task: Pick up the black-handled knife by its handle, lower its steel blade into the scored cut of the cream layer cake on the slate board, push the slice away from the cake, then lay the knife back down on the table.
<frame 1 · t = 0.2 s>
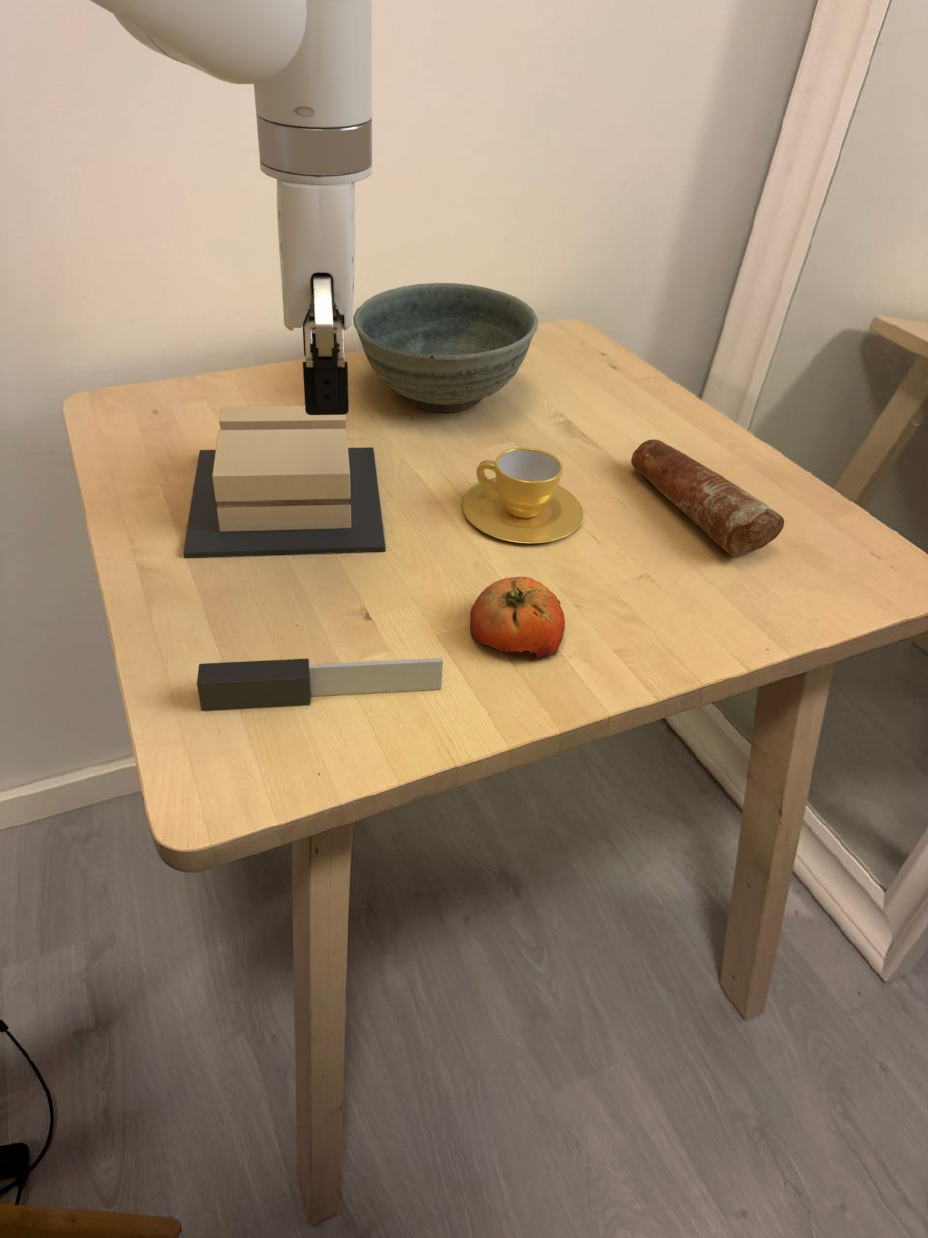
hand: (325, 383, 71), 17 cm above the table, tool pointing down, fingers open, 9 cm apart
cup: (521, 512, 90), on the table
bowl: (442, 396, 108), on the table
tomato: (515, 634, 76), on the table
cake: (287, 500, 89), on the table
slice: (285, 440, 90), point 4 cm above the table, slide at 0.0 cm
salami: (687, 514, 92), on the table
knife: (257, 697, 68), on the table
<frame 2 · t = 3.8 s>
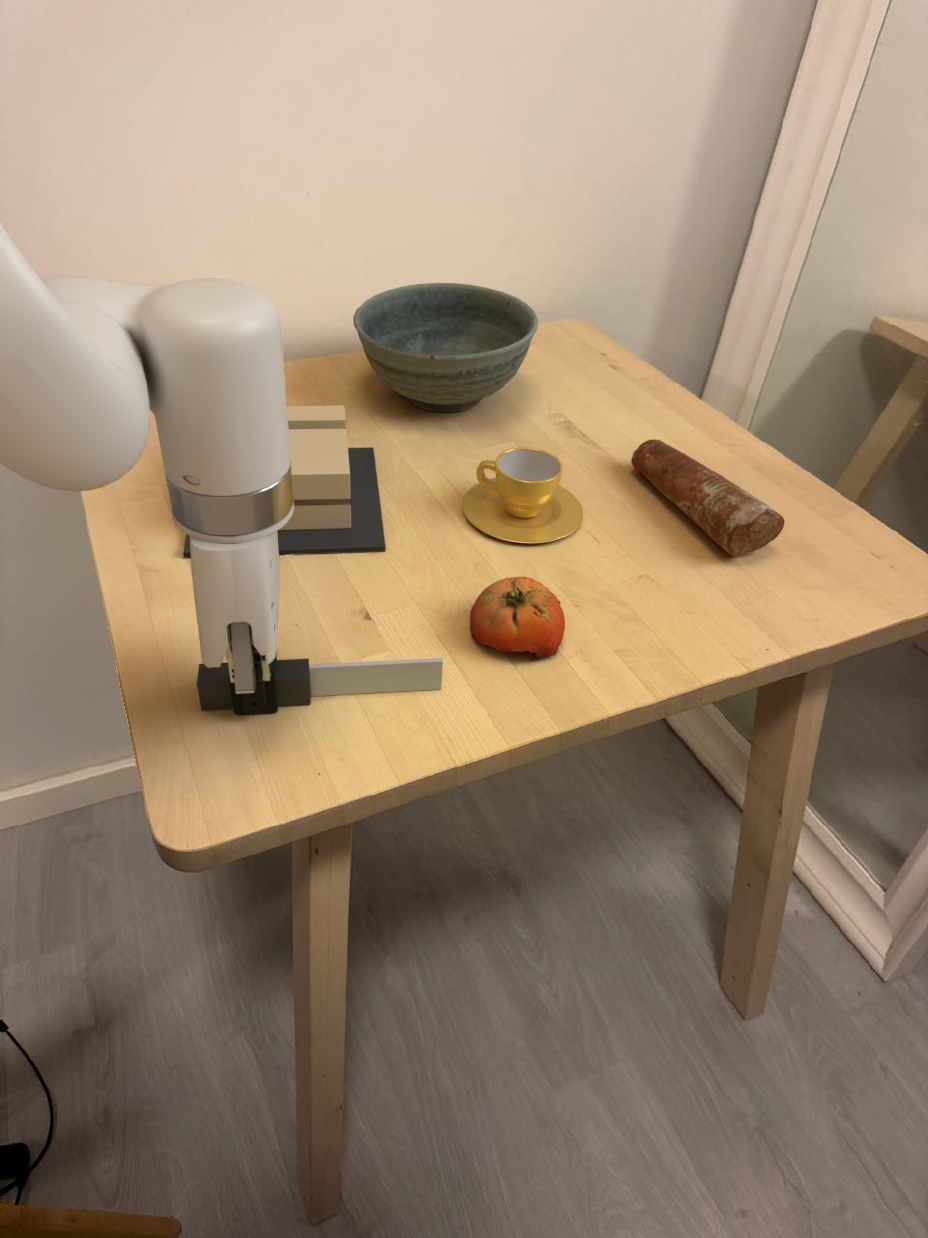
hand: (256, 696, 68), 0 cm above the table, tool pointing down, fingers closed on knife, 2 cm apart
knife: (257, 697, 68), on the table, touching gripper
everything else where it was.
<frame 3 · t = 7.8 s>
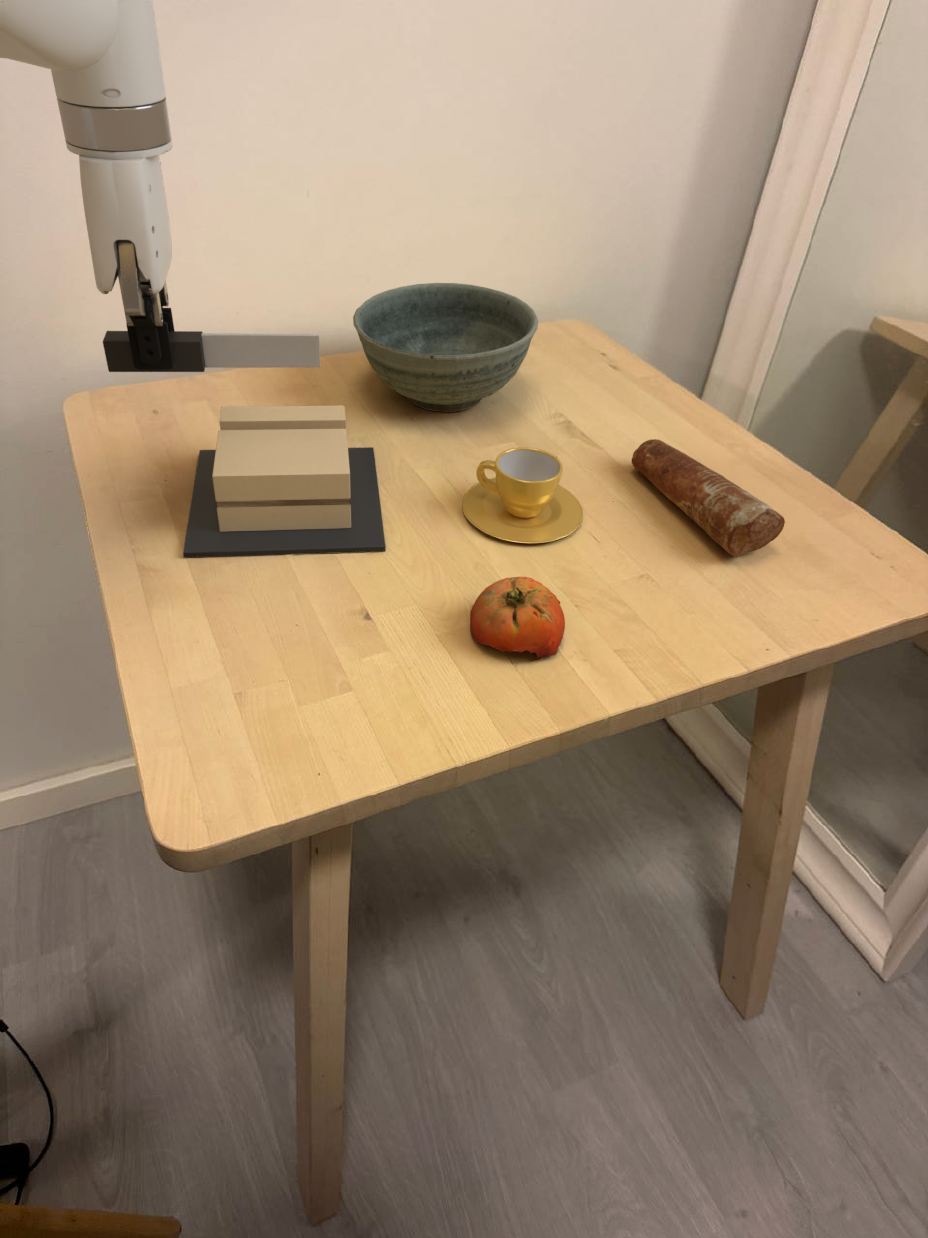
hand: (156, 358, 79), 14 cm above the table, tool pointing down, fingers closed on knife
knife: (158, 366, 79), point 14 cm above the table, touching gripper
everything else where it was.
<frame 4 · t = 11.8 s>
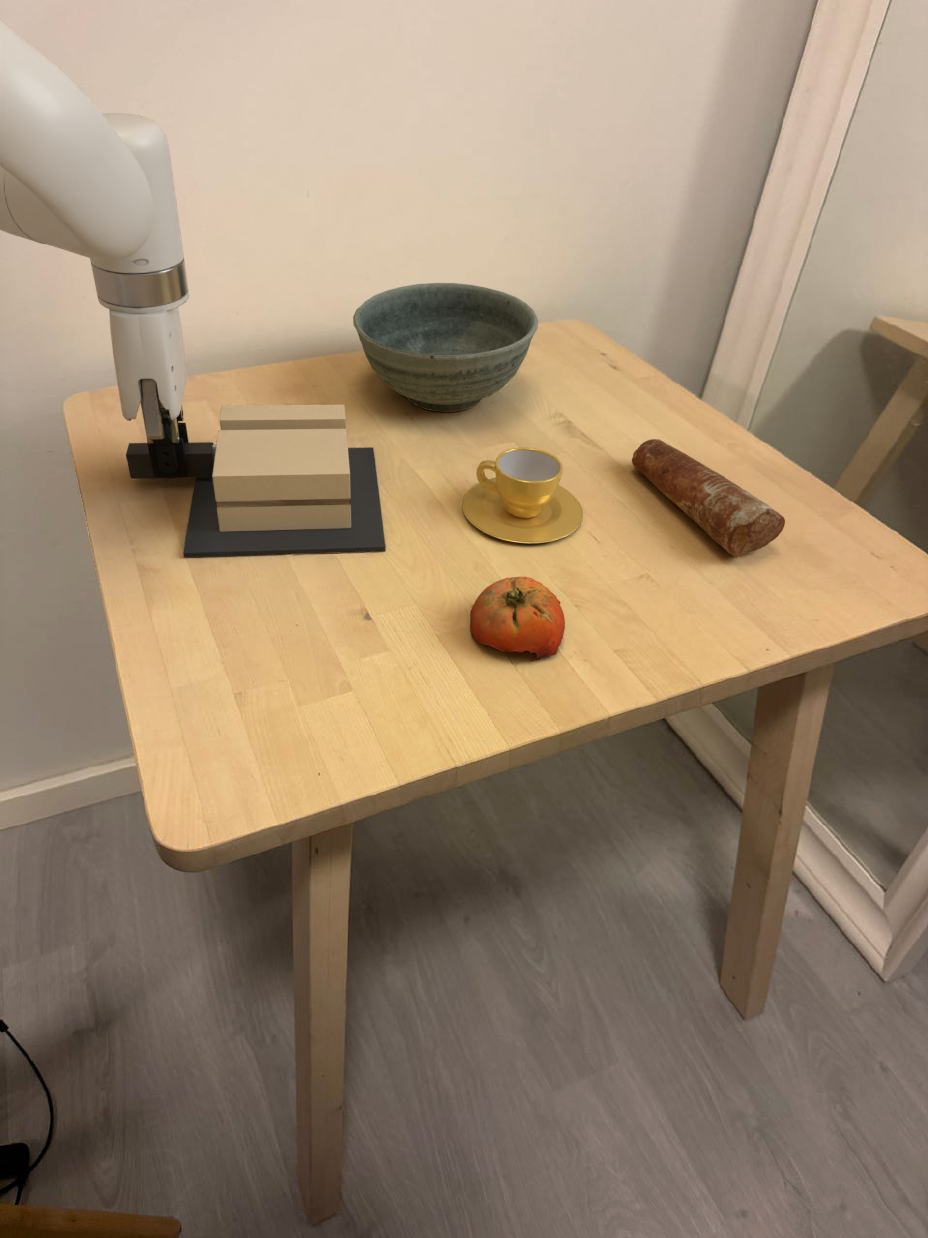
hand: (172, 466, 89), 2 cm above the table, tool pointing down, fingers closed on knife, 2 cm apart
slice: (285, 439, 91), point 4 cm above the table, slide at 0.2 cm, touching knife
knife: (174, 472, 89), point 1 cm above the table, touching gripper, slice
everything else where it was.
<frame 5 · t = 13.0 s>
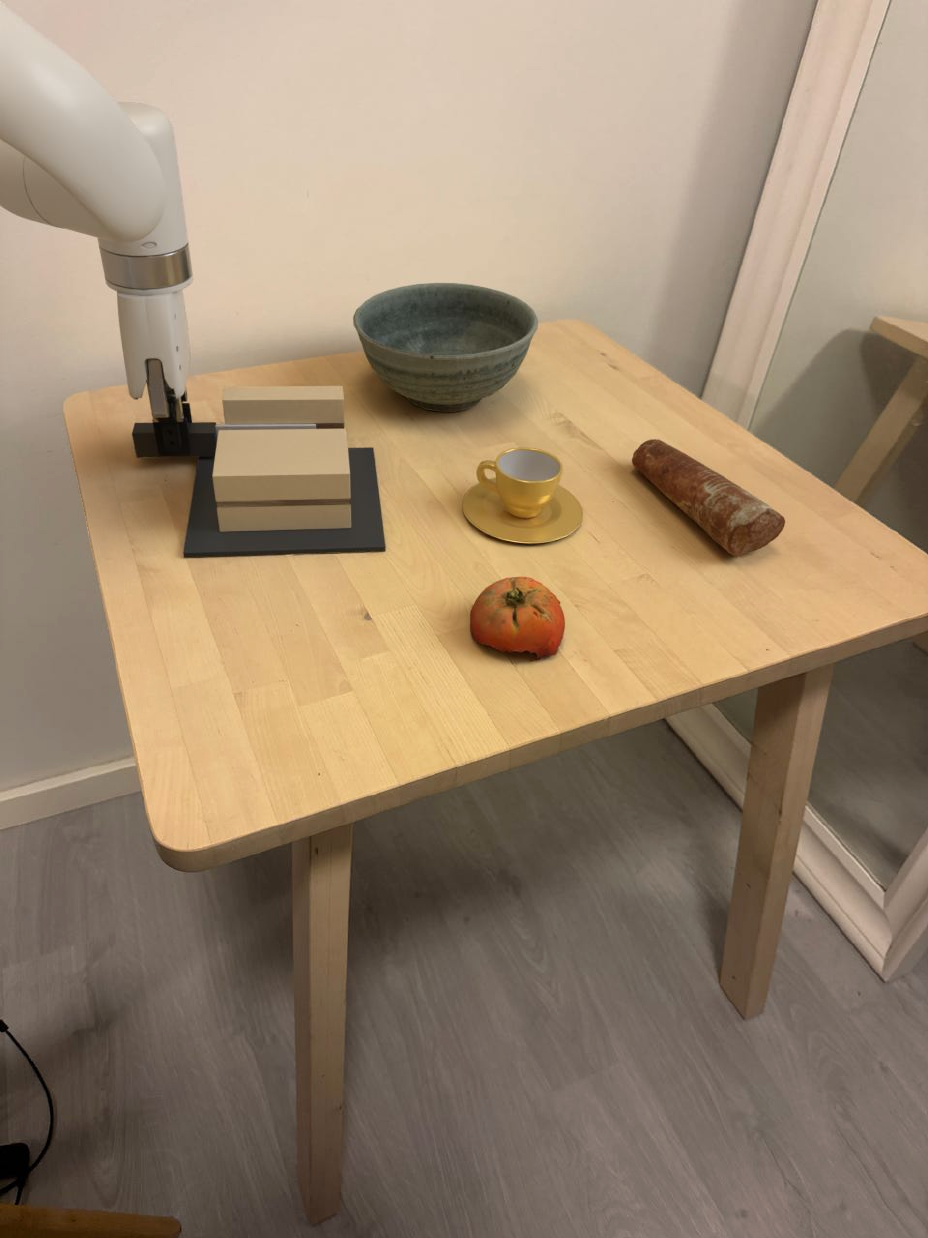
hand: (176, 445, 92), 2 cm above the table, tool pointing down, fingers closed on knife, 2 cm apart
slice: (285, 419, 94), point 4 cm above the table, slide at 4.3 cm, touching knife
knife: (178, 451, 92), point 1 cm above the table, touching gripper, slice
everything else where it was.
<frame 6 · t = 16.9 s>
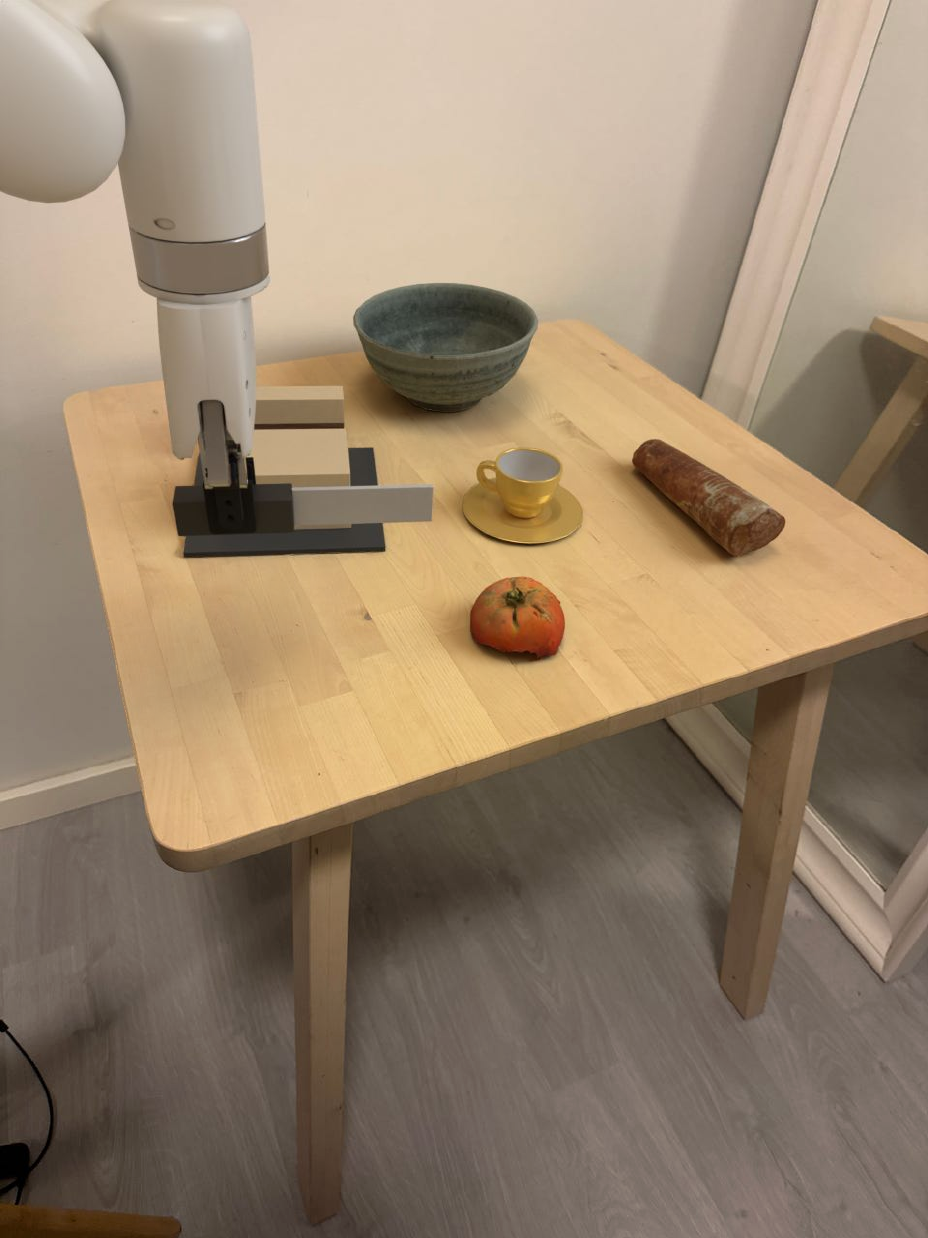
hand: (234, 517, 64), 13 cm above the table, tool pointing down, fingers closed on knife
slice: (285, 419, 94), point 4 cm above the table, slide at 4.3 cm
knife: (237, 525, 65), point 12 cm above the table, touching gripper
everything else where it was.
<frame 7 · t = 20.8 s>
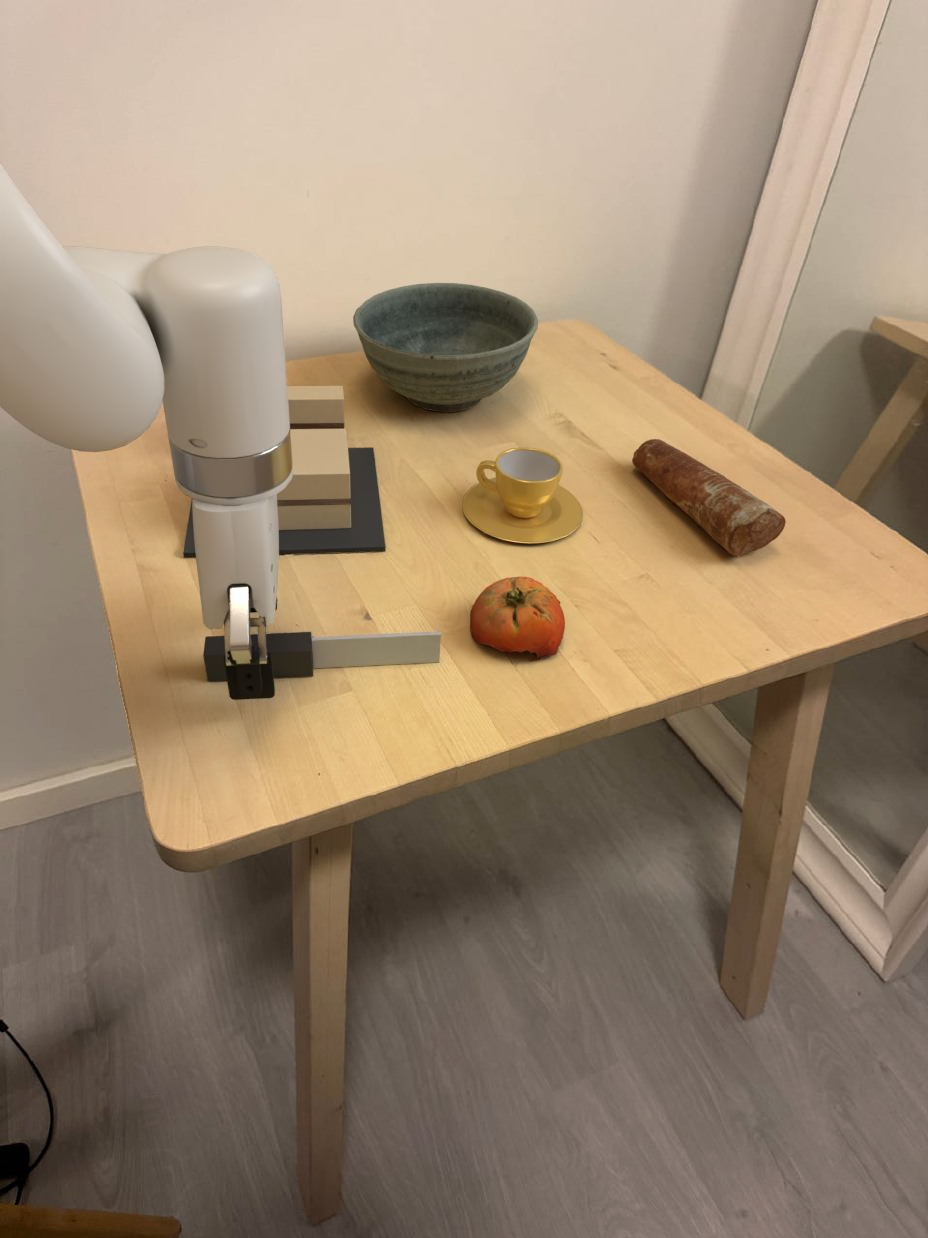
hand: (255, 650, 69), 2 cm above the table, tool pointing down, fingers open, 9 cm apart
knife: (261, 669, 71), on the table
everything else where it was.
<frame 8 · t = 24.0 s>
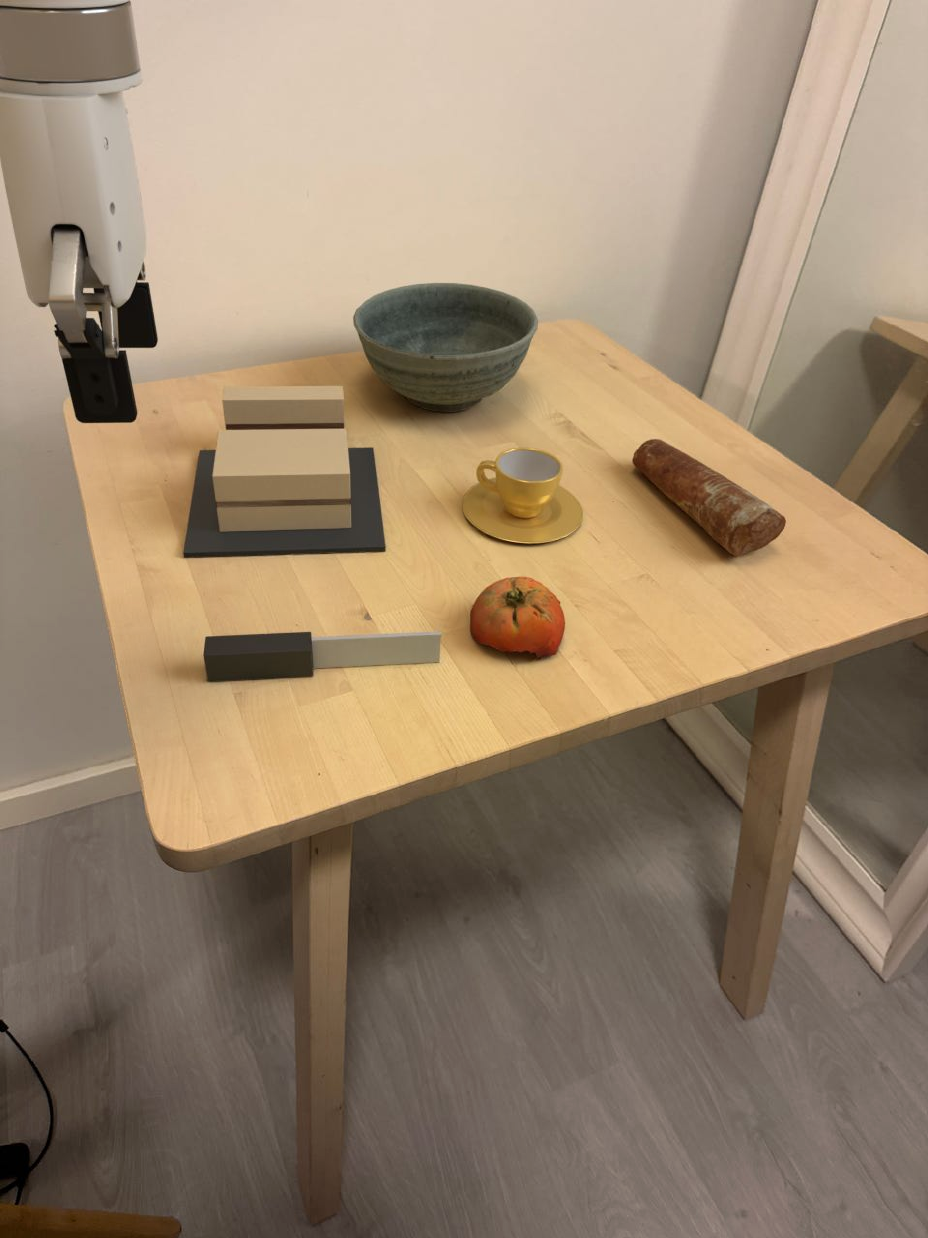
hand: (121, 380, 54), 24 cm above the table, tool pointing down, fingers open, 9 cm apart
nothing on the table moved.
at the end: slice slide at 4.3 cm; the gripper is holding nothing; knife on the table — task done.
